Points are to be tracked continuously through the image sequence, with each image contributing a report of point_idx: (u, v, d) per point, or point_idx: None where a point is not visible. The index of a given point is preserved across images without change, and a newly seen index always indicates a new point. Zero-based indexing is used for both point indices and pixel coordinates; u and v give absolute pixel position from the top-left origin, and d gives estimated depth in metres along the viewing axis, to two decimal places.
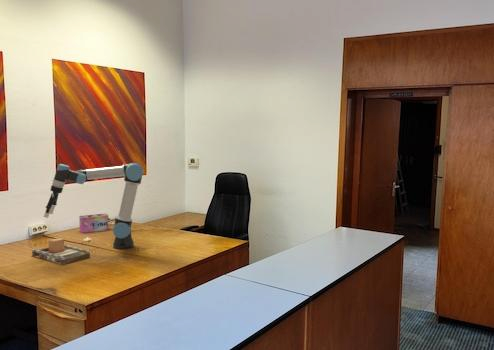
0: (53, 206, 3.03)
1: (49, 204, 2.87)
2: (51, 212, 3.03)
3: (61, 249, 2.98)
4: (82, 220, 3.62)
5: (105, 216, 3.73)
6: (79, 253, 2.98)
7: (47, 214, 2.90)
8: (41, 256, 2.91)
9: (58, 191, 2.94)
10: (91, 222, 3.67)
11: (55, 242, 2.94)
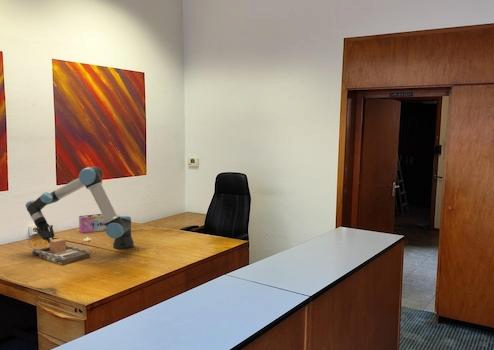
0: (50, 239, 3.01)
1: (42, 236, 2.99)
2: None
3: (62, 249, 2.97)
4: (82, 220, 3.63)
5: None
6: (79, 253, 2.98)
7: None
8: (41, 256, 2.91)
9: (37, 221, 3.02)
10: (91, 222, 3.67)
11: (56, 242, 2.93)
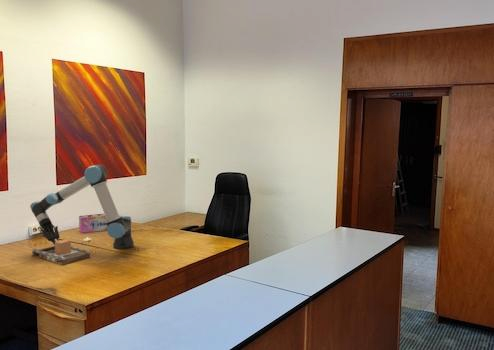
0: None
1: (47, 237, 2.95)
2: None
3: (67, 251, 2.94)
4: (82, 220, 3.63)
5: (104, 216, 3.73)
6: (79, 253, 2.98)
7: None
8: (41, 256, 2.91)
9: (42, 222, 2.99)
10: (91, 222, 3.67)
11: (61, 244, 2.90)
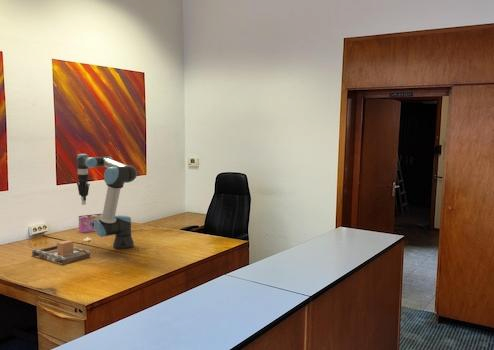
0: None
1: None
2: None
3: (70, 251, 2.92)
4: (81, 220, 3.63)
5: None
6: (79, 253, 2.98)
7: None
8: (41, 256, 2.91)
9: None
10: (90, 222, 3.67)
11: (64, 244, 2.88)
